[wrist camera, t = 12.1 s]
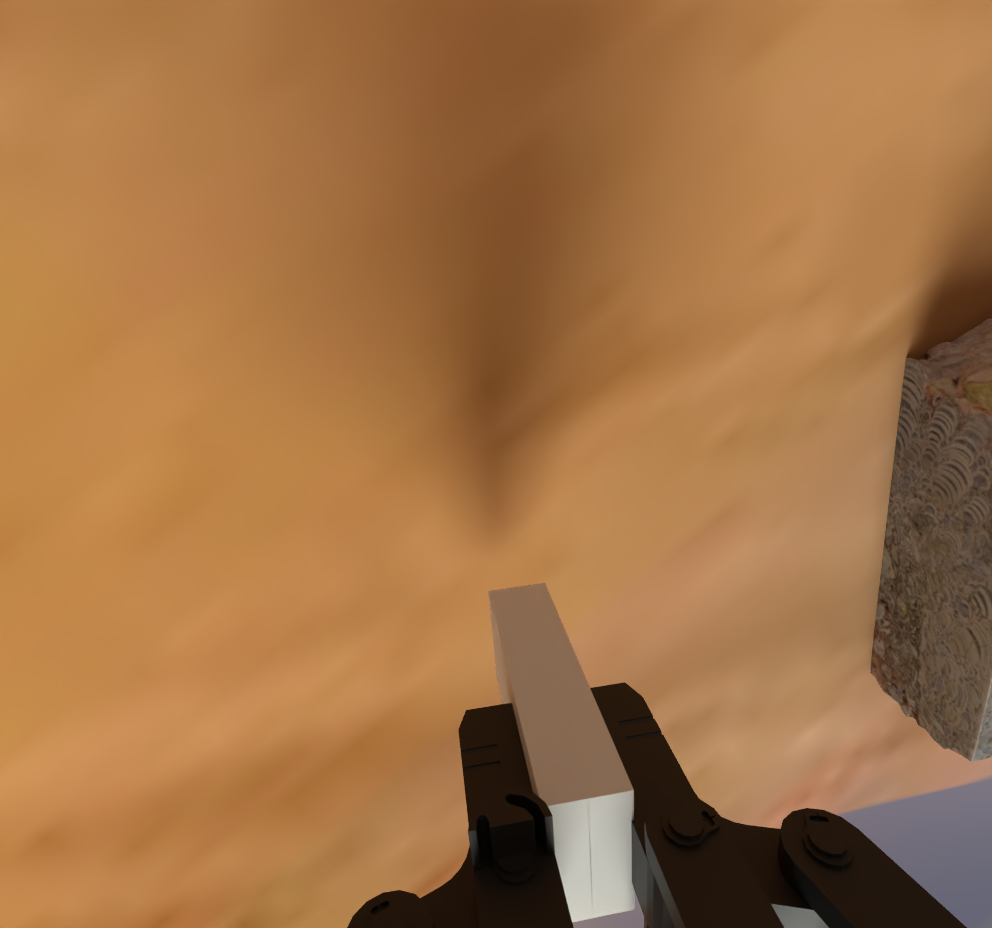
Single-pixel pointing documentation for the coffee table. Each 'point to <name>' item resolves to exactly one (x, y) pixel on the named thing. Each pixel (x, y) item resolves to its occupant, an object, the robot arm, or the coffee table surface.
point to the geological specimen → (941, 548)
